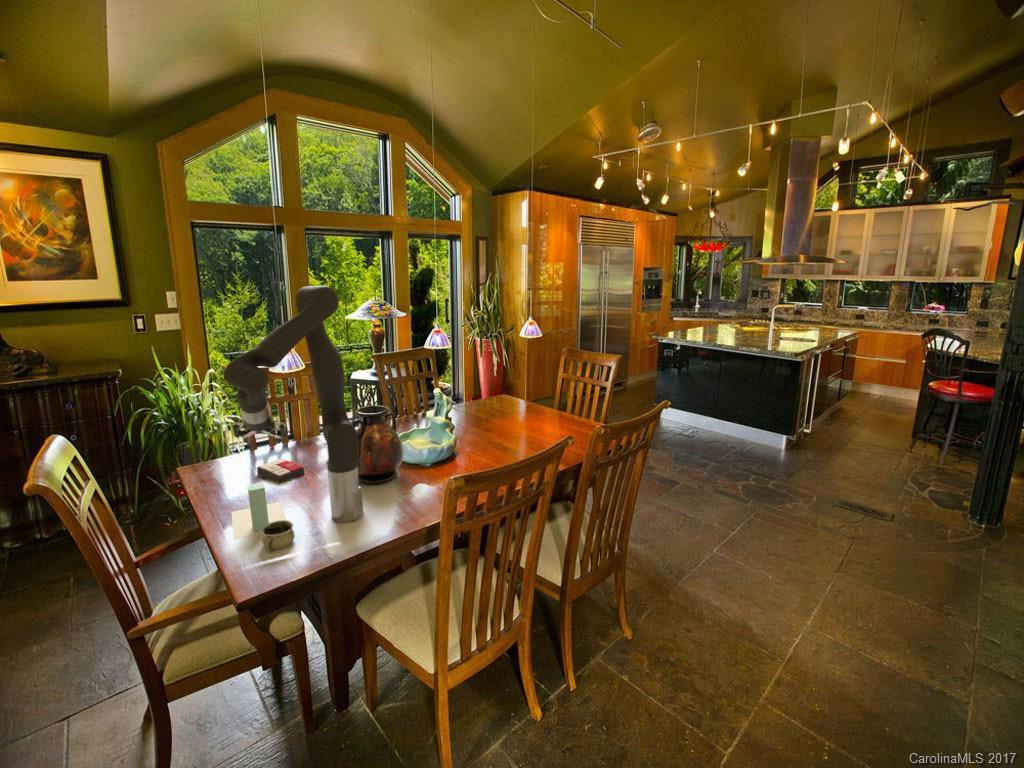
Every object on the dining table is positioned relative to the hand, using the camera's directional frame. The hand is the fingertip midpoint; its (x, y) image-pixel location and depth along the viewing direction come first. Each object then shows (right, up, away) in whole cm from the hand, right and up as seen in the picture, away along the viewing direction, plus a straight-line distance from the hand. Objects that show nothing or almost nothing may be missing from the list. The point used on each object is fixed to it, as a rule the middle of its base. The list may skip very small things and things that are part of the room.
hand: (263, 441), depth 153 cm
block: (-2, -27, +2) cm, 27 cm away
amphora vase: (+24, -19, +42) cm, 52 cm away
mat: (-5, -27, +8) cm, 28 cm away
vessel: (+8, -31, -7) cm, 32 cm away
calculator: (-15, -19, +45) cm, 51 cm away
